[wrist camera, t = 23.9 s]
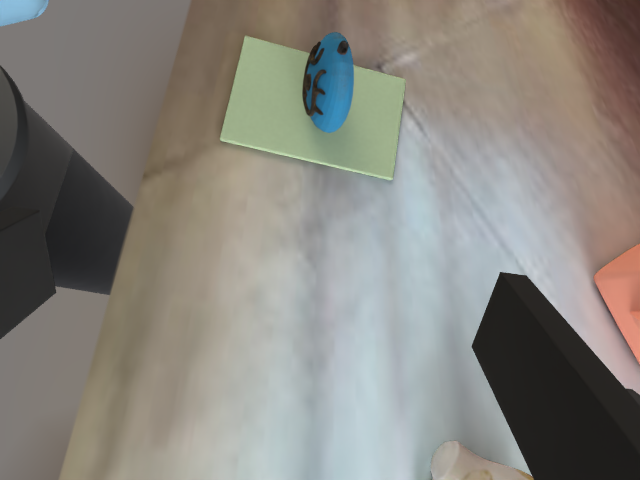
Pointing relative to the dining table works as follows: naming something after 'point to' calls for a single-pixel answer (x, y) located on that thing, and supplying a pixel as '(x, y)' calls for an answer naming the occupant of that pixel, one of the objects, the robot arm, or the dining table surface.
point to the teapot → (623, 294)
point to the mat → (297, 127)
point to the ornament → (329, 82)
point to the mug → (469, 465)
